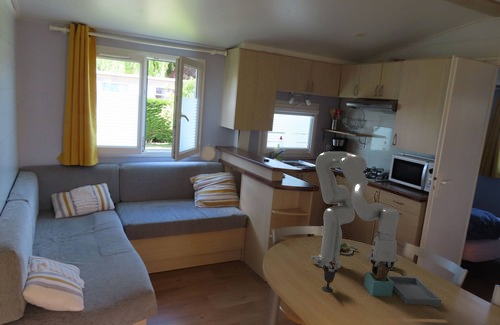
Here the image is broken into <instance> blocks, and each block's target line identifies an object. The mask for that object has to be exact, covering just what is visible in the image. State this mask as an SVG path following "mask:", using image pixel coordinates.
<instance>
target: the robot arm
mask: <svg viewBox="0 0 500 325" xmlns="http://www.w3.org/2000/svg"><path fill="white" fill-rule="evenodd" d="M367 165H368V164H367V161H366V159H365V158H364V157H363V156H361V155H357V154H354V153H351V152H347V151H324V152H322V153H320V154H319V155H317V158H316V159H315V172H316V174H317V177H318V181H319V185H320V191H321V196H322V200H323V202H324V203H325V204H327V205H334V204H337V205H335V206H330V207H327V208H326V209H325V210H324V212H323V218H322V219H323V231H322V232H323V233H322V240H321V248H320V253H318V255H310V260H314V262H316V264H317V265H318V266H319V268H322V269H323V266H324V265H326V264H327V263H329V262H330V261H332V260H333V261H332V263H333V262H334V263H335V266H336V269H338V270H339V269H340V268H342V264H341V262H340V261H339V260H340V254H339V253H341V251H340V246H341V243H342V238H343V231H342V228H341V226H342V225H344V224H349V223H352V222H353V221H354V219H355V216H356V214H357V216H358V217H359V218H360V220H362V221H364V222H373V221H378V228H377V231H376V232H374V236H375V237H374V240H373V241H372V246H371V250H370V253H369V254H368V255H367V256H366V259H367V260H368V261H369V262H370V263H371V265H372V266H371V267H372V268H371V272H373V273H374V274H375V275H376V274H377V268H378V267H377V264H378V262H385V265H386V266H387V267H388V271H387V275H388V274H389V271H390V270H389V267H391V265H392V264H393V263H395V264H396V263H397V262H398V258H397V250H398V245H397V242H398V241H397V240H396V234H397V230H398V229H397V228H398V224H399V218H400V212H399V210H397V209H395V208H391V207H388V206H387V205H385V204H384V203H381V202H375V203H374V202H373V203H368V201H367V200H366V198H365V196H364V188H365V187H366V186H368V184H369V180H368V178H367V176H366V175H365V173H364V171H366V169H367V167H368V166H367ZM332 168H333V169H337V168H338V169H339V168H340V170H341V172H342V174H343V176H344V178H345V180H346V181H347V183H348V185H349V187H350V189H351V191H350V189H349V188H348V187H347V186H345V185H343V184H338V182H337V179H336V176H335V174H334V172H333V171H332ZM355 212H356V213H355ZM334 258H335V259H334Z"/></svg>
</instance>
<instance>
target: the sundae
mask: <svg viewBox="0 0 500 325" xmlns="http://www.w3.org/2000/svg"><path fill="white" fill-rule="evenodd" d="M334 259H335V258H334ZM332 261H333V260H332ZM332 261H330V262H329V263H327V264H326V265H324V266H323V268H322V269H323V272H324V274H323V276H324V277H323V278H324V279H323V280H325V282H326V285H325V286H324V285H323V286H322V287H321V289H322V291H324V292H326V293H332V292H333V291H334V289H333V288H332V287H331V286H330V284H331V283H333V282H334V279H335V276H336V273H337V272H338V270H339V269H336V266H335V263H334V262H333V263H332Z"/></svg>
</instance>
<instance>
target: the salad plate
mask: <svg viewBox="0 0 500 325" xmlns="http://www.w3.org/2000/svg"><path fill="white" fill-rule="evenodd" d="M358 250H359V249H358V248H355V247H353V246H352V245H350V244H349V243H347V242H346V243H345V242H344V241H343V242H341V246H340V253H339V255H345V256H348V255H351V254H353V251H358Z"/></svg>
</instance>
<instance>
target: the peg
mask: <svg viewBox="0 0 500 325" xmlns="http://www.w3.org/2000/svg"><path fill="white" fill-rule="evenodd" d="M377 267H378V268H377V274H376V275H375V274H374V273H373V274H372V277H373V278H374V279H375V281H386V276H388V274H387V271H388V267H387V266H386V265H385V264H384V263H378V264H377Z"/></svg>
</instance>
